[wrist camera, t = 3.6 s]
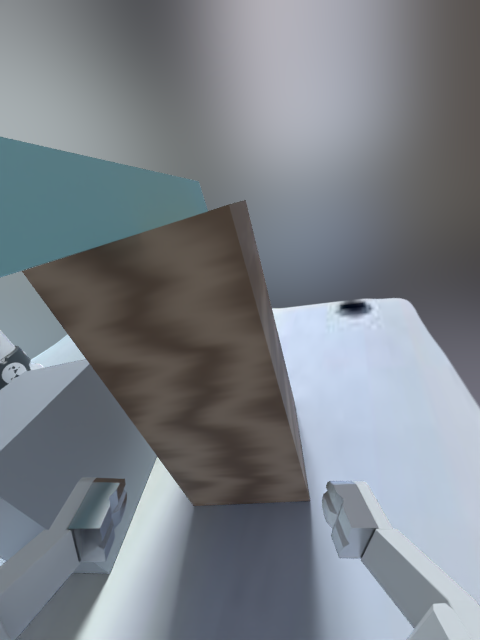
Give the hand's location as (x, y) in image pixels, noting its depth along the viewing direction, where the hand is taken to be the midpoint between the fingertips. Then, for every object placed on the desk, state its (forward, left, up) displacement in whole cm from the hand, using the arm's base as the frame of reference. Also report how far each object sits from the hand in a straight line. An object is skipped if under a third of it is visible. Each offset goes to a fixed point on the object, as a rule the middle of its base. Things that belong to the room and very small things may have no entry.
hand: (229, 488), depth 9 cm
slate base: (-22, +8, -16) cm, 28 cm away
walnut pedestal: (-4, +13, -16) cm, 21 cm away
